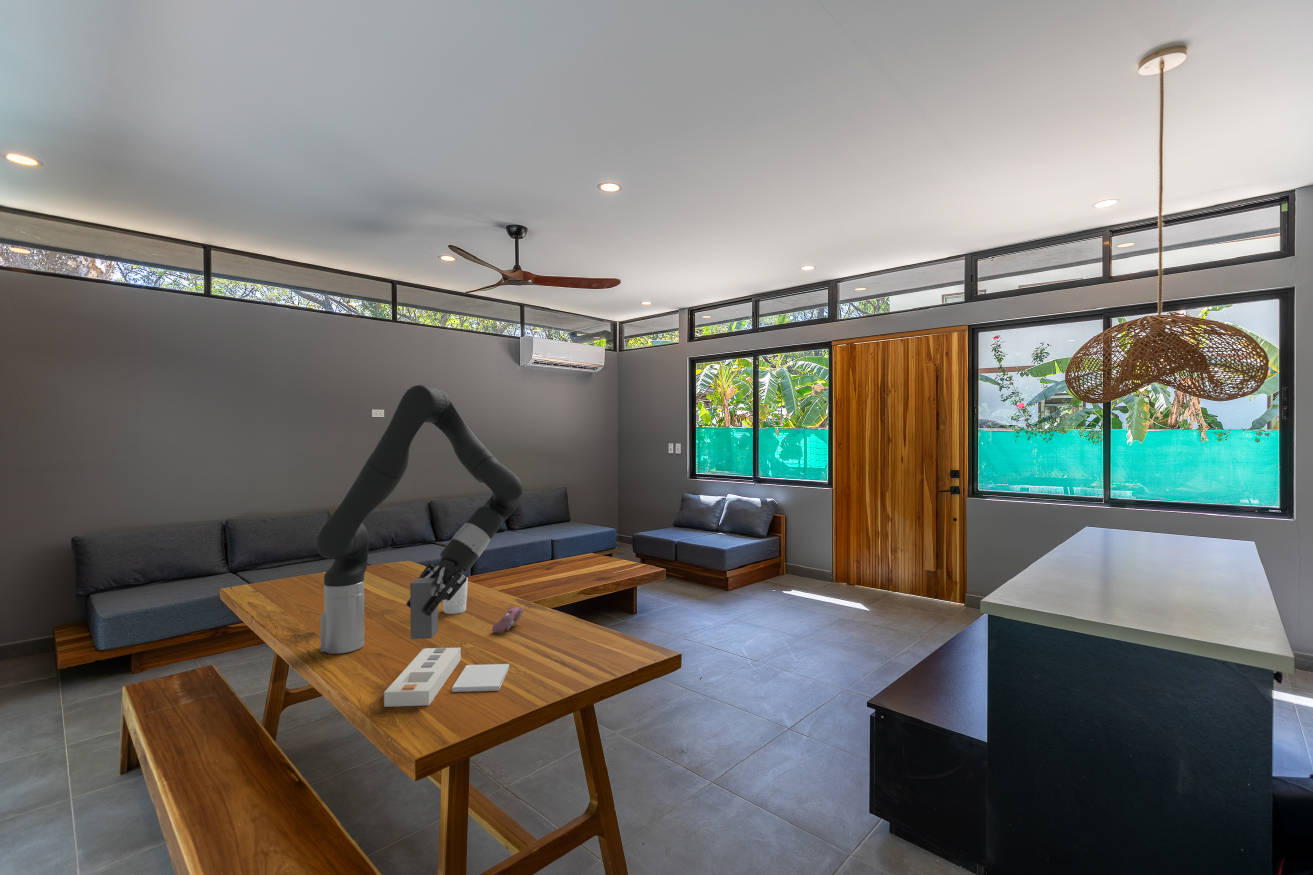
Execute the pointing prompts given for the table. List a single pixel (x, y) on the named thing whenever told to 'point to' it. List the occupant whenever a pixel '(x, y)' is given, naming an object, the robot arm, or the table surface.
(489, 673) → the mat
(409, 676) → the power strip
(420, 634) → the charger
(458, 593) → the white cup
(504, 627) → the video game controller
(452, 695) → the table surface
